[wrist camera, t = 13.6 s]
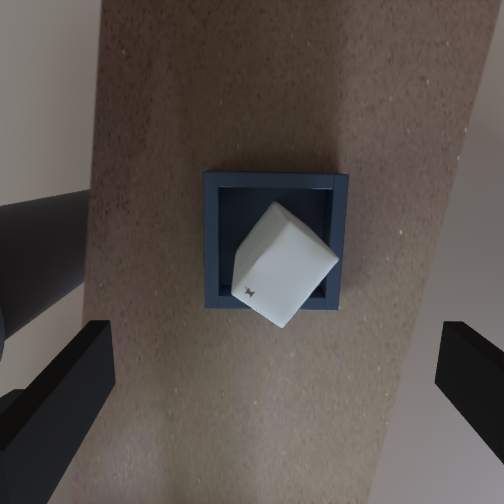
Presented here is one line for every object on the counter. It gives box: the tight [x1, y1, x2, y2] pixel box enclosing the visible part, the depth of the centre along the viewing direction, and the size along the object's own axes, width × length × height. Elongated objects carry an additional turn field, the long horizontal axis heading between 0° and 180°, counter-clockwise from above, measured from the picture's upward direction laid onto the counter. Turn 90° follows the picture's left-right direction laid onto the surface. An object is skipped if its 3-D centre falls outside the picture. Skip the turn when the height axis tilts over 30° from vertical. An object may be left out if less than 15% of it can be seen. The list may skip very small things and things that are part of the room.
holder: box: [203, 171, 349, 310], centre depth 33 cm, size 12×12×4 cm
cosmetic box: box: [231, 201, 339, 328], centre depth 29 cm, size 6×4×12 cm
